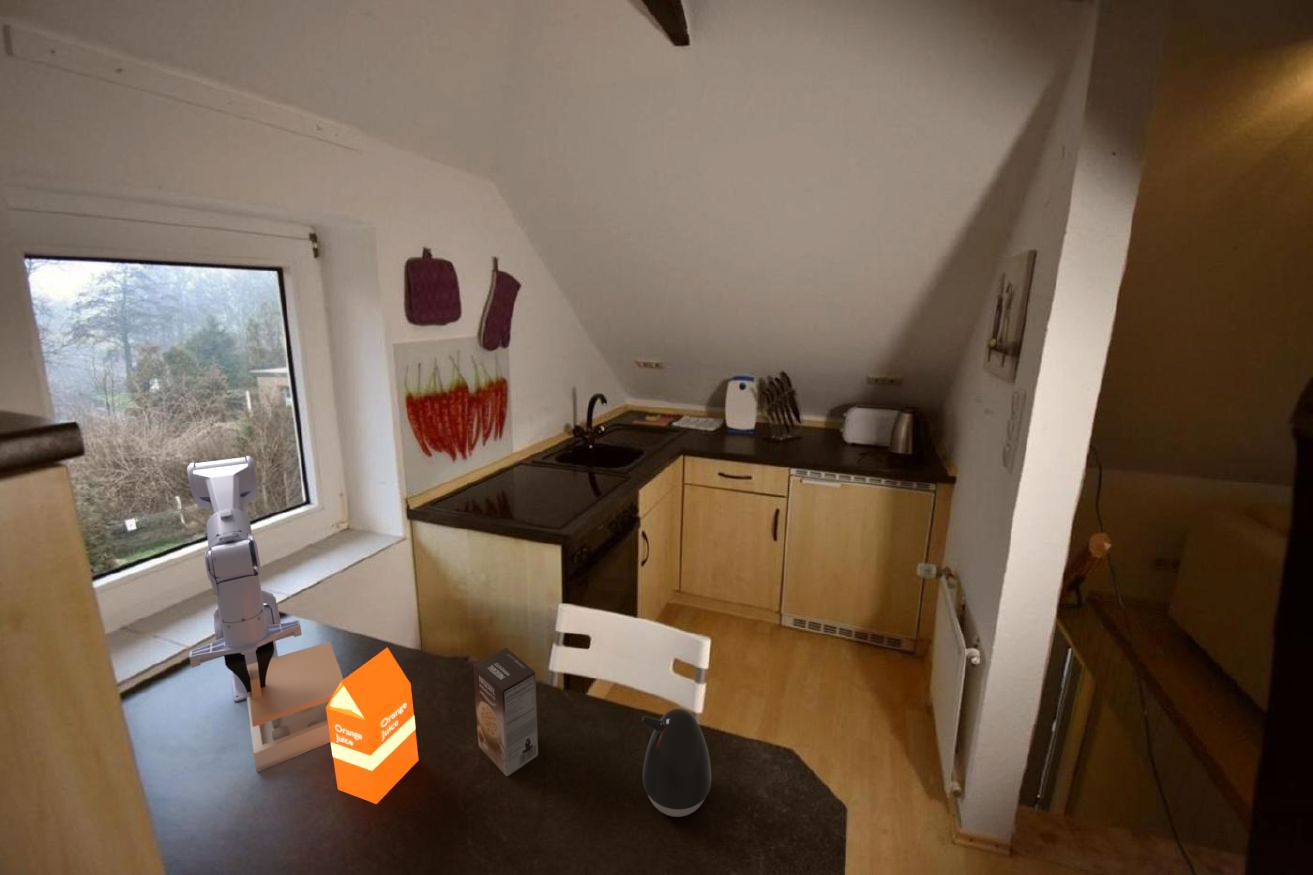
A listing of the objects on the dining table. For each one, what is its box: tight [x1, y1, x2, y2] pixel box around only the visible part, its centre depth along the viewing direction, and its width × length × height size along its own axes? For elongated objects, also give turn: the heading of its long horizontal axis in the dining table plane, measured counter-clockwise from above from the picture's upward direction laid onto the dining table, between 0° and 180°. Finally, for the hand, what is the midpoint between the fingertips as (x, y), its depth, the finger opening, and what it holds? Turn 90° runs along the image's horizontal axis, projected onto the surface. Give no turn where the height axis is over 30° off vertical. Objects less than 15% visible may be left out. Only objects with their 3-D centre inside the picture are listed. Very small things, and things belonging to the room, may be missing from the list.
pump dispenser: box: [641, 707, 712, 818], centre depth 83 cm, size 10×10×15 cm
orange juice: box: [326, 646, 419, 805], centre depth 86 cm, size 8×9×20 cm
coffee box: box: [472, 647, 539, 777], centre depth 91 cm, size 9×6×16 cm
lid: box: [247, 641, 344, 727], centre depth 96 cm, size 17×13×5 cm
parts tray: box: [246, 697, 331, 773], centre depth 97 cm, size 16×12×4 cm
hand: (256, 686), depth 93 cm, fingers closed on lid
